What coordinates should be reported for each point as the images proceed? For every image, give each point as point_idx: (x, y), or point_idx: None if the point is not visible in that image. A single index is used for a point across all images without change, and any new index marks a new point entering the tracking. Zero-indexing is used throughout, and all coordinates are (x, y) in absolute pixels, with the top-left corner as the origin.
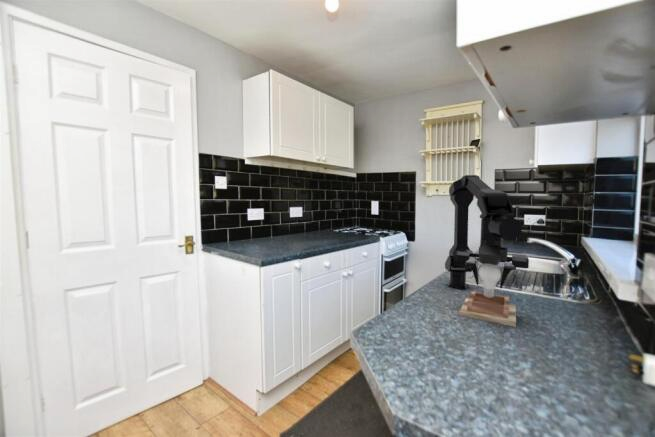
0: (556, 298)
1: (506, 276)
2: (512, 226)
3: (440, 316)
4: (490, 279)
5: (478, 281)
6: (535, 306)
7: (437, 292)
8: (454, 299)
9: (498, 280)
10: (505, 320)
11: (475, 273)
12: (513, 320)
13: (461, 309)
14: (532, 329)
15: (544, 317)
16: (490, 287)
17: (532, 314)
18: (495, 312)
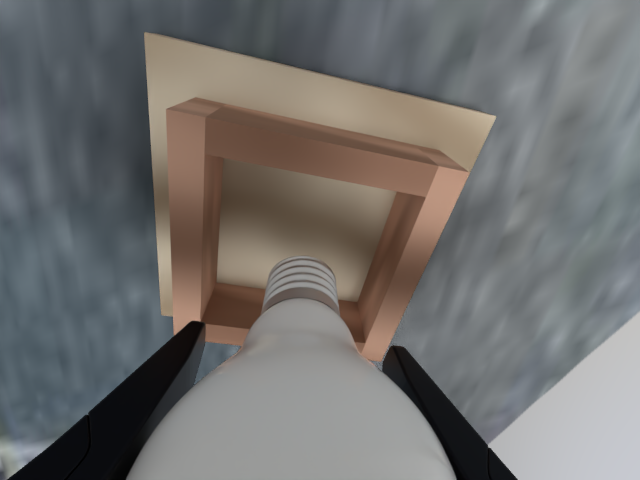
0: (33, 448)
1: (50, 450)
2: None
3: (622, 45)
4: (301, 357)
5: (398, 376)
6: (91, 361)
7: (489, 381)
8: (435, 331)
9: (197, 382)
10: (213, 49)
11: (480, 463)
12: (162, 72)
13: (469, 161)
14: (57, 28)
15: (33, 252)
16: (293, 306)
17: (91, 271)
18: (271, 118)
